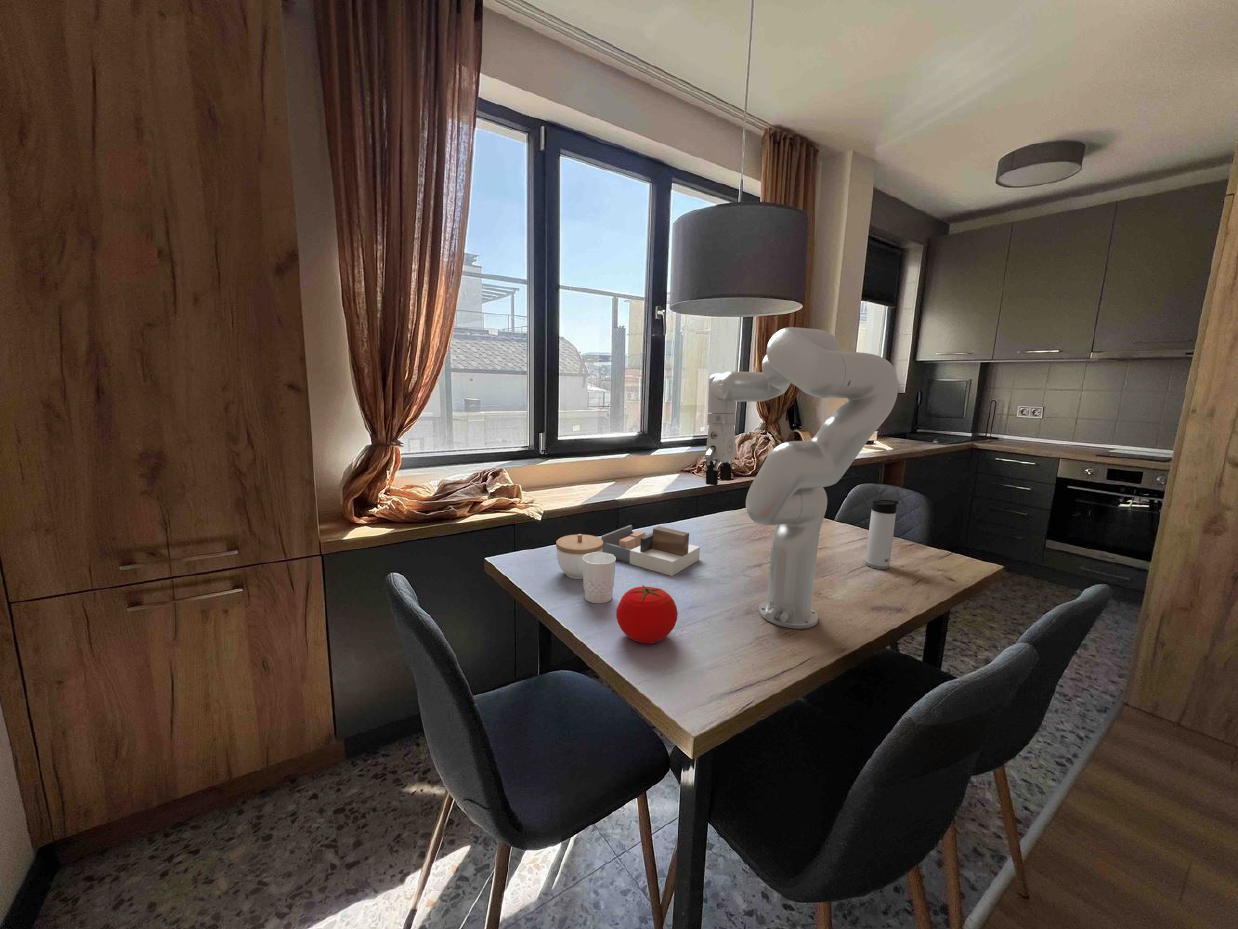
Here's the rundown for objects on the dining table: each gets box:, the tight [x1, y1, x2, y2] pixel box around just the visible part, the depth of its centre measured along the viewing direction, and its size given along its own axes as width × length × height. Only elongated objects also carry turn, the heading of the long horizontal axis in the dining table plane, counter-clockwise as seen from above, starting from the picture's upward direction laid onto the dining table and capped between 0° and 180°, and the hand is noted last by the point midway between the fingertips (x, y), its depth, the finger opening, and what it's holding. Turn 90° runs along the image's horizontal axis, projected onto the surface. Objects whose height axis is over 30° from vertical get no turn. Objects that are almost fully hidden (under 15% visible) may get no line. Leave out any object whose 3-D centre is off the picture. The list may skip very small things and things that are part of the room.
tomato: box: [615, 584, 679, 644], centre depth 98 cm, size 11×12×10 cm
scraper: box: [640, 525, 690, 557], centre depth 138 cm, size 12×11×6 cm
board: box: [629, 543, 701, 577], centre depth 140 cm, size 16×14×4 cm
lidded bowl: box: [555, 533, 603, 580], centre depth 129 cm, size 13×13×11 cm
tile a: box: [619, 536, 636, 549], centre depth 143 cm, size 5×5×2 cm
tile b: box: [630, 530, 646, 548], centre depth 149 cm, size 5×5×2 cm
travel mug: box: [864, 499, 900, 570], centre depth 140 cm, size 6×7×20 cm
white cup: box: [582, 552, 617, 604], centre depth 115 cm, size 8×8×10 cm
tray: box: [600, 524, 648, 565], centre depth 147 cm, size 15×10×6 cm
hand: (718, 482), depth 133 cm, fingers open, 9 cm apart
